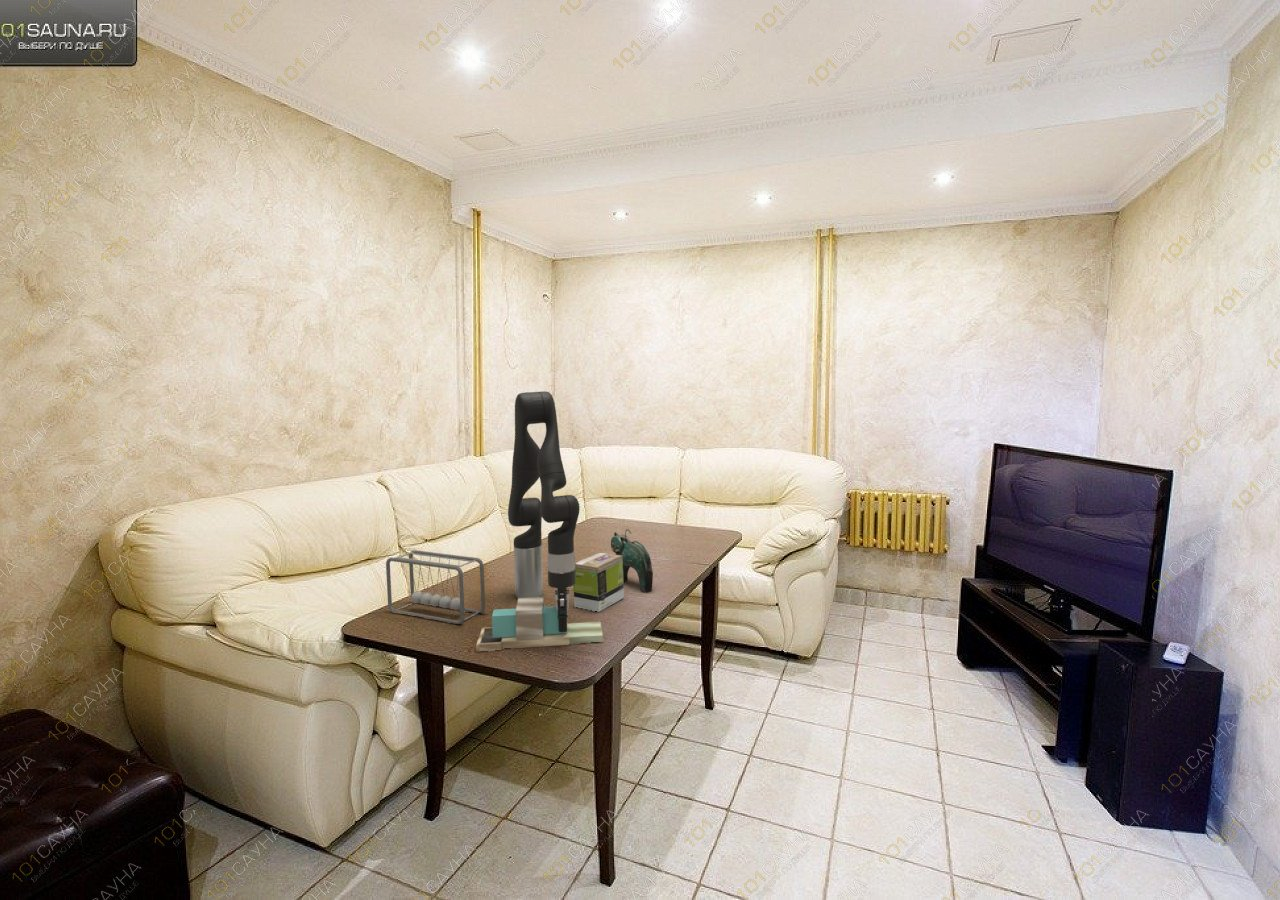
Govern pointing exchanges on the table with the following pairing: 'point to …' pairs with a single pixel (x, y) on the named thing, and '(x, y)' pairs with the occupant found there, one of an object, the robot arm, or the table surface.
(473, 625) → the table surface
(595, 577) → the tea box
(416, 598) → the newton's cradle
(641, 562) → the ceramic cat
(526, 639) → the tunnel track
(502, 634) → the teal block
